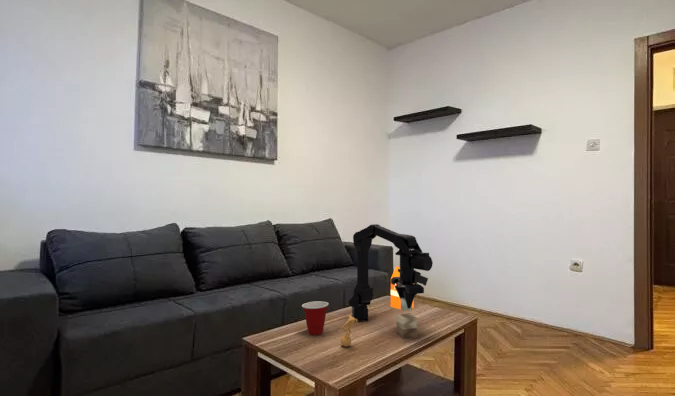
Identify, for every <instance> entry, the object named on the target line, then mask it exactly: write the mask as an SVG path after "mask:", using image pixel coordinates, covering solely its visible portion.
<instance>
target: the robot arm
mask: <svg viewBox="0 0 675 396" xmlns="http://www.w3.org/2000/svg"><path fill="white" fill-rule="evenodd" d="M376 237H379V238H381V239H383V240H385V241H388V242H390V243H392V244H393V245H394V247H396V249H398V251H397V252H395V255H396V256H399V267H400V269H398V272H400V277H393V278H392V279H391V278H390V285H391V284H393V285H395V283H396V286H394V287H395V289H396V291H397V293H398V295H399V297H400V300H401V298H404V297H405V301H406V304H407V307H408V308H411V305H412V302H413V299H414V298H415V296H416V295H419V294H424V293H425V287H424V286H427V283H428V281H429V278H428V277H427V276H423V275H422V274H421V272H420V271H425V272H429V271H430V270H431V269H432V268H433V264H434V263H433V259H432V257H431V256H430V252H423V250H422V249H421V247H420V245H419V243H418V241H417V238H416V236H415V235H411V234H405V233H399V232H396V231H394V230H391V229H388V228H386V227H385V226H381V225H380V224H379V223H378V224H377V223H375V224H370V225H368V226H367V227H365V228H363V229H360V230H359V231H356V232H354V233H353V235H352V240H353V246H354V248H355V250H356V254H357V255H356V257H357V258H356V259H357V260H356V265H357V267H356V275H357V277H356V279H357V281H356V282H357V283H356V285H355V286H354V289H353V295H352V297H351V298H350V299H349V300H348V305H349V307H351V316H352V317H353V318H355V319H357V320H358V321H357V322H368V321H369V308H368V306H370V305H371V301H372V300H373V297H374V287H372V286H371V285H370V283H369V251H370V249H371V247H372V242H373V240H374V239H375V238H376ZM417 270H420V271H417ZM422 285H423V286H422ZM414 300H415V299H414Z"/></svg>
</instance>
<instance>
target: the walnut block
mask: <svg viewBox="0 0 675 396" xmlns="http://www.w3.org/2000/svg"><path fill="white" fill-rule="evenodd" d="M395 331H396V333H395V334H396V335H397V336H398V337H400V338H401V339H402V340H408V339H417V338H418V334H417V333H418V327H417V328H411V329H402V328H400V327H399V326H398V325H396V330H395Z"/></svg>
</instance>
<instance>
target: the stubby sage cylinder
mask: <svg viewBox="0 0 675 396" xmlns="http://www.w3.org/2000/svg"><path fill="white" fill-rule="evenodd" d="M412 310H413V308H412V305H411V308H408V307H407V304H406V301H405V297H404V298H401V309H400V311H404V312H405V311H409V312H410V311H412Z"/></svg>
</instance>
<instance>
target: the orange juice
mask: <svg viewBox="0 0 675 396" xmlns="http://www.w3.org/2000/svg"><path fill="white" fill-rule="evenodd" d="M398 269H400V266H397V265H396V266H395V268H394V270H393V273H392V275H391V277H390V280H391V279H392V278H393V277H400V272H398ZM394 286H396V283H395V285H393V284H391V283H390V307H391V308H394V309H398V310H401V300H400V297H399V295H398V293H397V291H396V289H395V287H394ZM414 301H415V299H413V302H412V309H414V303H415V302H414Z"/></svg>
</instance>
